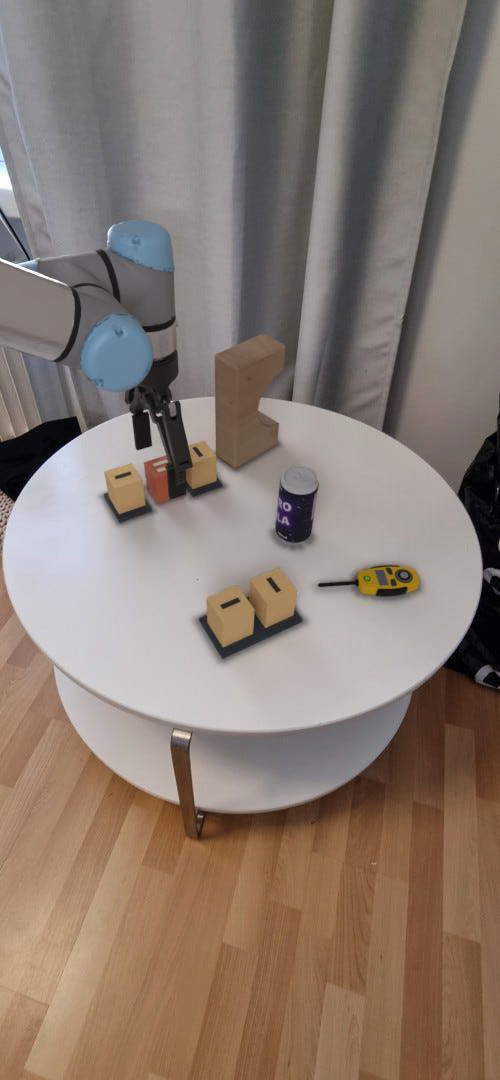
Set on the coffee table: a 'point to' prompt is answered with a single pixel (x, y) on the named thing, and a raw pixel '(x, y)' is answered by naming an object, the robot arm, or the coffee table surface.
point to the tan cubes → (130, 492)
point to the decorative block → (245, 398)
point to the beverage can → (296, 503)
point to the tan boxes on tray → (250, 613)
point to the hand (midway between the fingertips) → (160, 470)
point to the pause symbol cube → (157, 478)
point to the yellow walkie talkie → (383, 581)
